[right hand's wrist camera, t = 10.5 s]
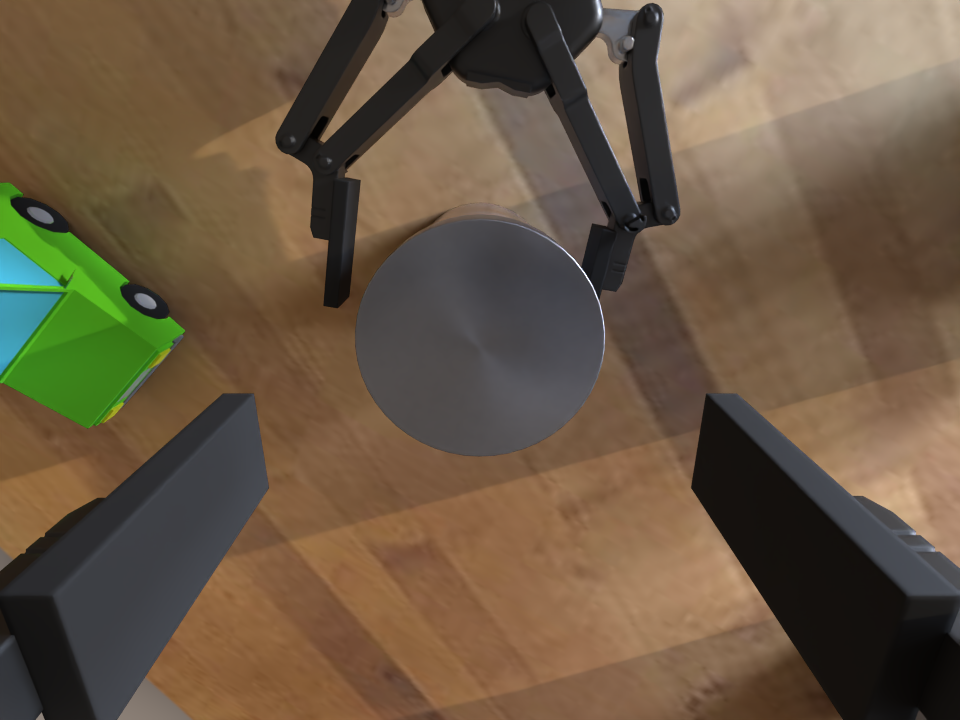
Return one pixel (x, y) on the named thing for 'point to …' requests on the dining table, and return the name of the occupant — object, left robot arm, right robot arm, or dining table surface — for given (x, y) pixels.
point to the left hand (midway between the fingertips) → (457, 322)
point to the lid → (480, 336)
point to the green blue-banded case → (72, 318)
